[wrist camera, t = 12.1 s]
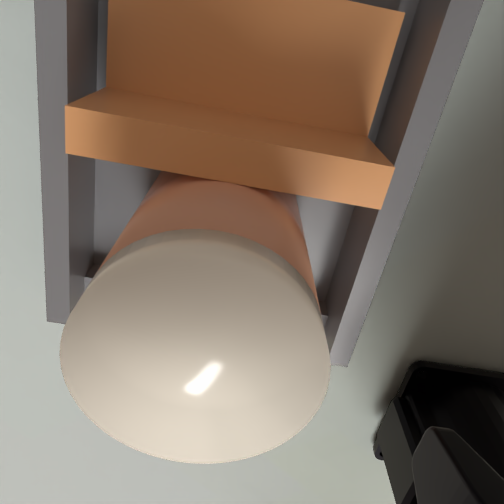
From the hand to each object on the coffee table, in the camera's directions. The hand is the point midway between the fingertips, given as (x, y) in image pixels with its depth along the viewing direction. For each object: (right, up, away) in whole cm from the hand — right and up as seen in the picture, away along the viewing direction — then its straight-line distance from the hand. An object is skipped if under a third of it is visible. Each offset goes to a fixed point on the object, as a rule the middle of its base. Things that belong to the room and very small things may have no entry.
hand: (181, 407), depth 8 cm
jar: (0, +4, +9) cm, 10 cm away
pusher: (+1, +8, +6) cm, 11 cm away
